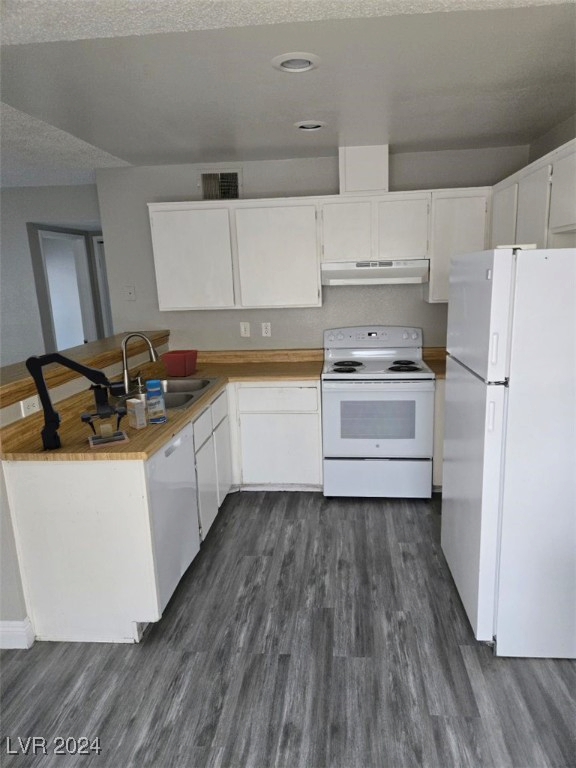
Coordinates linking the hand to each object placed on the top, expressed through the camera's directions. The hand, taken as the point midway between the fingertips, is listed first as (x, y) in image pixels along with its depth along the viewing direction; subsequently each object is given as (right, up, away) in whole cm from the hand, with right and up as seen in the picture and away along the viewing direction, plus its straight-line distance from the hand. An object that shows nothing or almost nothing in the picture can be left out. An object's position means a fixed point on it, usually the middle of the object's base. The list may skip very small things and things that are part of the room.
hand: (106, 433), depth 221 cm
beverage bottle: (+17, +3, +22) cm, 28 cm away
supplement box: (+9, +1, +15) cm, 18 cm away
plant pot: (+4, +28, +138) cm, 141 cm away
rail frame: (+2, -3, -3) cm, 5 cm away
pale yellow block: (0, -3, +1) cm, 3 cm away
